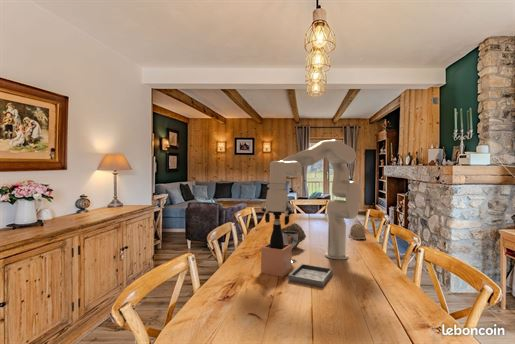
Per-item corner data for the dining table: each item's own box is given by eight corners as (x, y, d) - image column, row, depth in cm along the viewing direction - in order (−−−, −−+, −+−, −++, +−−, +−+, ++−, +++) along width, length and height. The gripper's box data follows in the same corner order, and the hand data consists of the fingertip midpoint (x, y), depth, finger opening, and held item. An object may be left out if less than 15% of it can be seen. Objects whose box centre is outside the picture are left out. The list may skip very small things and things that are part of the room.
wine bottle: (268, 268, 147) (269, 207, 147) (281, 268, 148) (282, 207, 147) (270, 273, 141) (271, 208, 140) (284, 273, 142) (285, 209, 141)
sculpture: (364, 235, 224) (364, 221, 224) (367, 240, 208) (367, 226, 208) (347, 234, 227) (347, 220, 227) (349, 239, 211) (349, 225, 210)
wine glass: (296, 263, 156) (297, 234, 156) (281, 262, 157) (281, 233, 157) (298, 259, 164) (298, 231, 163) (283, 258, 165) (283, 230, 165)
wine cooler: (270, 265, 152) (270, 241, 152) (291, 269, 147) (291, 244, 147) (260, 272, 142) (261, 247, 142) (282, 276, 137) (283, 250, 137)
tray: (301, 268, 148) (301, 263, 148) (332, 274, 141) (332, 268, 141) (288, 280, 132) (288, 275, 132) (322, 287, 125) (322, 281, 125)
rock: (294, 218, 193) (291, 217, 179) (309, 236, 189) (307, 237, 174) (272, 236, 195) (267, 237, 180) (287, 255, 190) (282, 257, 176)
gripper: (257, 186, 144) (257, 222, 145) (292, 188, 136) (291, 226, 137) (264, 186, 151) (263, 220, 151) (297, 187, 143) (296, 223, 143)
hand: (276, 223), depth 144 cm, fingers open, 9 cm apart
